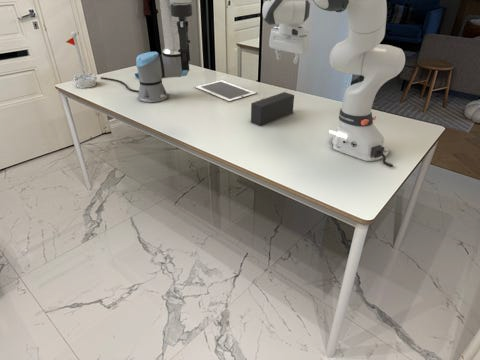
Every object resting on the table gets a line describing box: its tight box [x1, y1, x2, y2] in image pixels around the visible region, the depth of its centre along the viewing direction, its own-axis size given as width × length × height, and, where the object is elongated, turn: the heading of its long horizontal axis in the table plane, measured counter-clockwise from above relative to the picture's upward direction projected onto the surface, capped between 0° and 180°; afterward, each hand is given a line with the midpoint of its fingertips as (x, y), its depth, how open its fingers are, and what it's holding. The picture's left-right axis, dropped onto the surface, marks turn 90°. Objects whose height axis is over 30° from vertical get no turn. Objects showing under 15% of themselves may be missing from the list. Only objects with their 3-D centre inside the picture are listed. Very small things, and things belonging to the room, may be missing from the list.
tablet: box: [194, 79, 258, 102], centre depth 196 cm, size 32×20×1 cm, turn 41°
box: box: [250, 91, 295, 127], centre depth 160 cm, size 23×6×9 cm, turn 132°
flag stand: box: [65, 31, 98, 89], centre depth 197 cm, size 13×13×30 cm
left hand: (186, 65), depth 131 cm, fingers open, 13 cm apart
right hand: (286, 61), depth 153 cm, fingers open, 8 cm apart
